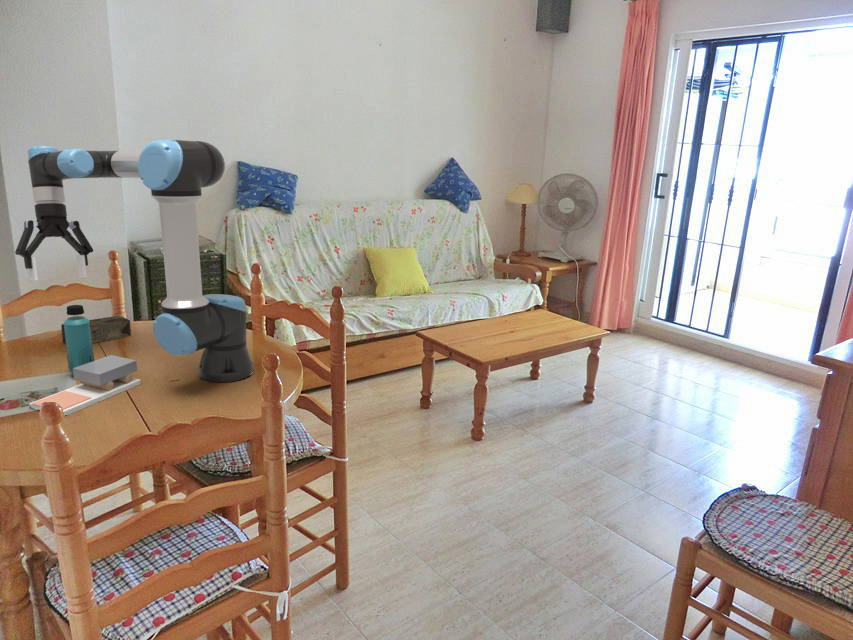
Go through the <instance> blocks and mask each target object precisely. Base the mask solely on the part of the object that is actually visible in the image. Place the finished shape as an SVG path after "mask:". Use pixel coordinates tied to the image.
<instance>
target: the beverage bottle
mask: <svg viewBox="0 0 853 640" xmlns="http://www.w3.org/2000/svg"><path fill="white" fill-rule="evenodd" d="M84 313H85V309H84V306H83V305H82V304H72V305H67V306H66V315H67V316H70V317H67V319H65V320H64V322H63V324H64V330H65V338H66V343H65V348H66V357H67V366H68V370H69V372H70V374H73V368H75V367H78V366H81V365H84V364H87V363H90V362H93V361H95V355H94V347H93V345H94V343H93V344H92V339H91V331H90V321H89V320H90V319H89V318H87V317H85V316H82V315H83V314H84Z"/></svg>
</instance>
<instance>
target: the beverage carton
mask: <svg viewBox="0 0 853 640" xmlns="http://www.w3.org/2000/svg"><path fill="white" fill-rule="evenodd" d="M88 320H89V321H90V331H91V339H92V344H93V345H94V344H97V343H102V342H107V341H113V340H118V339H123V338H129V337H131V336H132V330H131V329H132V327H131V320H130V319H128V318H126V317H123V316H122V315H121V314H118V315H115V316H107V317H101V318H93V319H88ZM60 328H61V336H62V338H61V339H62V342H63V343H65V344H66V338H65V330H64V323H62V324H61V326H60ZM128 336H129V337H128Z"/></svg>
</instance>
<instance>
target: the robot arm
mask: <svg viewBox="0 0 853 640" xmlns="http://www.w3.org/2000/svg"><path fill="white" fill-rule="evenodd" d="M27 157H28V158H27V159H28V160H27V163H28V166H29V167H28V168H29V174H30V180H31V181H30V182H31V187H32V194H33V202H34V203H35V205H34V211H35V212H34V213H35V218H36V221H34V220H29V219H28V220H25V221H24V225H23V226H24V229H23V231H22V234H21V236H20V239H19V241H18V244H17V247H16V249H15V251H14V253H15V255H16V256H21V258H23V261H24V267H25V269H27V270H28V274H29V275H28V276H29V281H30V282H33V281H35V282H37V281H39V277H38V269H37V262H36V256H33V254H34V253H35V252H36V251H37V249H38V248H39V247H40V245H41V243H43V241H44V240H45V239H46V238H53V237H54V238H60V237H61V238H62V239H63V240H65V241H66V242H67V243H68V244H69V246H70V247H72V249H74V250H75V252H77V254H78V255H77V254H76V260H77V268H78V269H77V270H78V276H79V277H78V278H79V279H80V278H88V275H87V273H88V272H87V267H88V265H89V260H88V255H89V254H90V253H93V252H94V248H93V247H92V245H91V243H90V242H89V241H88V239H87V236H86V235H85V234H84V232H83V230H82V229H81V225H80V222H79V221H78V220H73V221H68V219H67V218H68V217H67V216H68V214H67V206H66V205H65V204H64V203H65V202H66V198H65V197H66V196H65V191H64V183H63V181H64V180H71V179H73V180H74V179H98V178H100V179H101V178H104V179H105V178H106V179H107V178H116V179H117V178H121V179H123V178H125V179H129V178H130V179H132V178H134V179H140V180H141V181H142V183H143V184H144V186H146V188H148V189H150V191H151V193H150V194H151V198H152V199H154V200H155V201H156V202H157V203H158V206H159V208H158V209H159V216H160V217H159V219H160V230H161V240H162V241H161V242H162V252H163V254H162V255H163V265H164V275H165V286H166V288H165V289H166V298H165V299H164V300H163V301H162V302H161V305H160V306H161V313H160V315H158V316H156V317H155V320H154V321H153V324H152V331H153V335H154V337H155V340H156V342H157V343H158V345H159V346H160V347H161V348H162V349H163V350H164V351H165V352H167V353H168V354H170V355H172V356H176V357H179V356H180V357H181V356H185V355H190V354H194V353H196V352H198V351H200V350H203V352H202V355H201V358H200V362H199V365H198V376H199V377H200V378H201V379H203V380H205V381H209V382H213V383H228V382H236V381H240V379H241V380H244V379H243V378H245V377H247V376H249V375H250V374H251V373H252V372H253V373H254V363H253V361H252V358H251V355H250V353H249V349H248V347H247V310H246V302H245V301H246V300H244V299H243V298H242V297H240V296H237V295H231V294H219V293H217V294H216V293H212V294H211V293H209V294H204V295H203V284H202V271H201V260H200V258H201V257H200V256H201V255H200V245H199V243H200V241H199V231H198V230H199V229H198V217H197V216H198V215H197V213H198V212H197V202H198V201H199V200H200V199H201V198H202V188H208V187H211V186H213V185H215V184H217V183H218V182H220V181H221V179H222V177H223V176H224V174H225V168H226V165H225V164H226V163H225V159H224V156H223V155H222V153H221V151H220V150H219V149H218V148H217V147H216V146H214V145H213V144H211V143H209V142H205V141H202V140H200V141H199V140H181V139H180V140H179V139H157V140H153V141H150V142H149V143H148V144H146V145H145V146H144V148H142V150H85V149H82V148H67V149H64V150H60V151H59V149H58V148H57V147H54V146H49V145H37V146H36V145H34V146H30V147H29V148H28V149H27ZM36 228H37V229H38V232H37V233H36V234H35V237H34V238H33V239H32V240H31V237H32V234H33V233H34V230H35V229H36ZM68 228H69V229H70V230H72V233H73V235H74V236H75V237H76V238H75V237H74V236H73V235H72V233H71V232H70V231H69V230H68ZM30 240H31V242H30ZM29 242H30V243H29ZM86 266H87V267H86ZM249 377H250V376H249ZM247 378H248V377H247ZM245 379H246V378H245Z"/></svg>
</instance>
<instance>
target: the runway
mask: <svg viewBox="0 0 853 640" xmlns="http://www.w3.org/2000/svg"><path fill="white" fill-rule="evenodd" d="M139 385H142V381H141V379H139V378H134V377H133V375H132V373H131V374H128V375H126V376H123V377H121V378H118V379H116V380H113V381H111V382H108V383H105V384H103V385H96V384H92V383H87V382H83V381H80V383H79V384H77V385H74V386H72V387H69V388H66V389H64V390H61V391H59V392H56V393H53V394H50V395H49V396H46V397H43V398H40V399H37V400H35V401H32V402H30V403H28V406H29V405H32V406H35V407H38V408H39V407H40V405H41V404H42V403H44V402H56V403H57V404H59V405H60V406H61V407H62V409H63V412H64V417H66V416H65V415H67V416H69V415H71V414H74V413H77V412H79V411H80V410H82V409H85V408H87V407H90V406H92V405H95V404H97V403H100V402H102V401H104V400H106V399H109V398H111V397H114V396H116V395H118V394H120V393H123V392H125V391H127V390H130V389H132V388H135V387H137V386H139Z"/></svg>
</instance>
